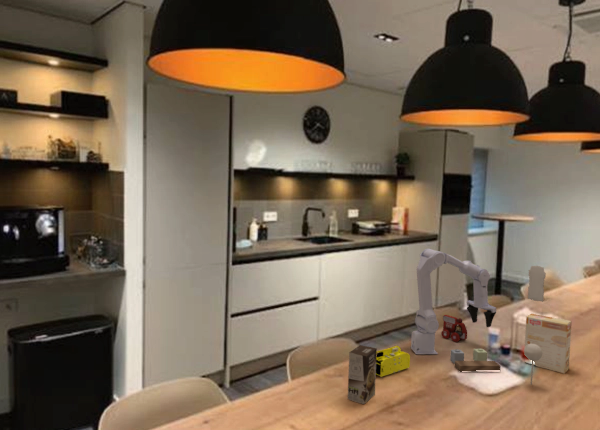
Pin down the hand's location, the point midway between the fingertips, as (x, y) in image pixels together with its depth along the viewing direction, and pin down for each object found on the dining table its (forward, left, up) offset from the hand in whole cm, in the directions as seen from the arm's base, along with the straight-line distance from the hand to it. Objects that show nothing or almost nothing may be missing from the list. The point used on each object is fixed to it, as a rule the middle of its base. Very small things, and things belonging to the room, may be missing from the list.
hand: (481, 324), depth 204 cm
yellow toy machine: (-48, -27, -10) cm, 56 cm away
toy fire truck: (-8, +10, -10) cm, 17 cm away
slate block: (-18, -18, -10) cm, 27 cm away
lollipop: (+1, -39, -10) cm, 40 cm away
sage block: (-8, -17, -10) cm, 21 cm away
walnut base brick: (-13, -25, -10) cm, 30 cm away
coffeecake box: (+17, -22, -10) cm, 29 cm away
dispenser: (+76, +85, -10) cm, 114 cm away
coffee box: (-63, -48, -10) cm, 80 cm away
